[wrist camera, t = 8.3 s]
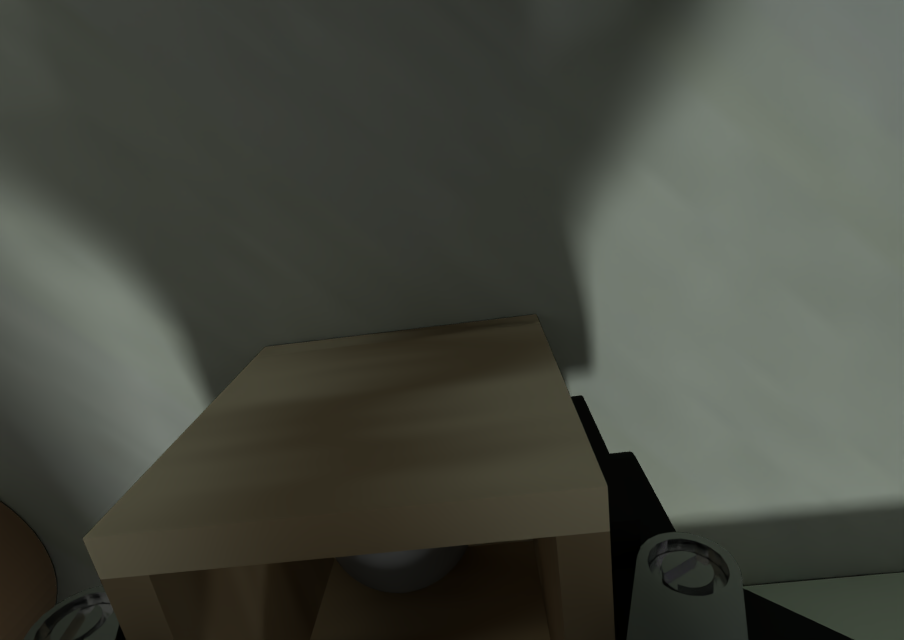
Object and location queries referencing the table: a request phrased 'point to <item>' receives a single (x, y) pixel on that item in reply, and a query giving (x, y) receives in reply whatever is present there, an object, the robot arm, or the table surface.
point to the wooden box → (371, 498)
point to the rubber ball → (402, 568)
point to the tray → (846, 603)
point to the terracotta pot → (22, 577)
